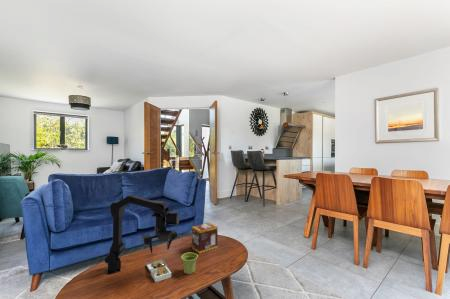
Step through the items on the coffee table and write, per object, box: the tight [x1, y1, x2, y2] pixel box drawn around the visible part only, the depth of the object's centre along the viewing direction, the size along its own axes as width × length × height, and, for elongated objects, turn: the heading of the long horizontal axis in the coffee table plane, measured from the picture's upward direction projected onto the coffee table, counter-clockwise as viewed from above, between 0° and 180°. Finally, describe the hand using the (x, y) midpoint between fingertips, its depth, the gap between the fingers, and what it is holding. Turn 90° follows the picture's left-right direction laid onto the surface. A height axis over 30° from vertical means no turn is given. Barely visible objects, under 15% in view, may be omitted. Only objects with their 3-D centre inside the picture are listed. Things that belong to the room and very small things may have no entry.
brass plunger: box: [152, 259, 162, 268], centre depth 130 cm, size 5×5×2 cm
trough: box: [150, 266, 172, 283], centre depth 121 cm, size 9×9×2 cm
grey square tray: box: [145, 259, 169, 274], centre depth 130 cm, size 10×10×1 cm
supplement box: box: [191, 222, 218, 254], centre depth 156 cm, size 10×15×16 cm
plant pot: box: [180, 252, 199, 275], centre depth 125 cm, size 9×9×9 cm
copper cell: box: [157, 261, 166, 276], centre depth 121 cm, size 4×4×7 cm
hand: (159, 251), depth 124 cm, fingers open, 9 cm apart
